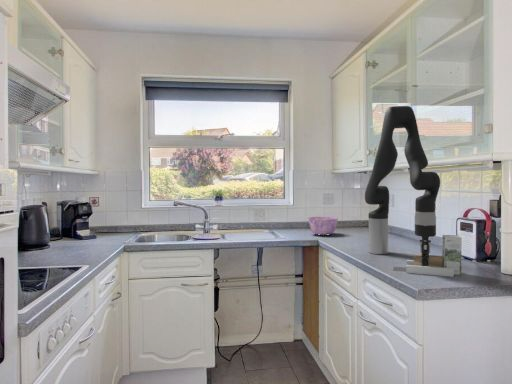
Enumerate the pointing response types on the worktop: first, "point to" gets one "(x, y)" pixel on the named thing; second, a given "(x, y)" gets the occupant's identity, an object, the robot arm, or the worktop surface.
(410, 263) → the channel
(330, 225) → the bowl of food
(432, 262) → the block
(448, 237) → the syrup box
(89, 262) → the worktop surface
